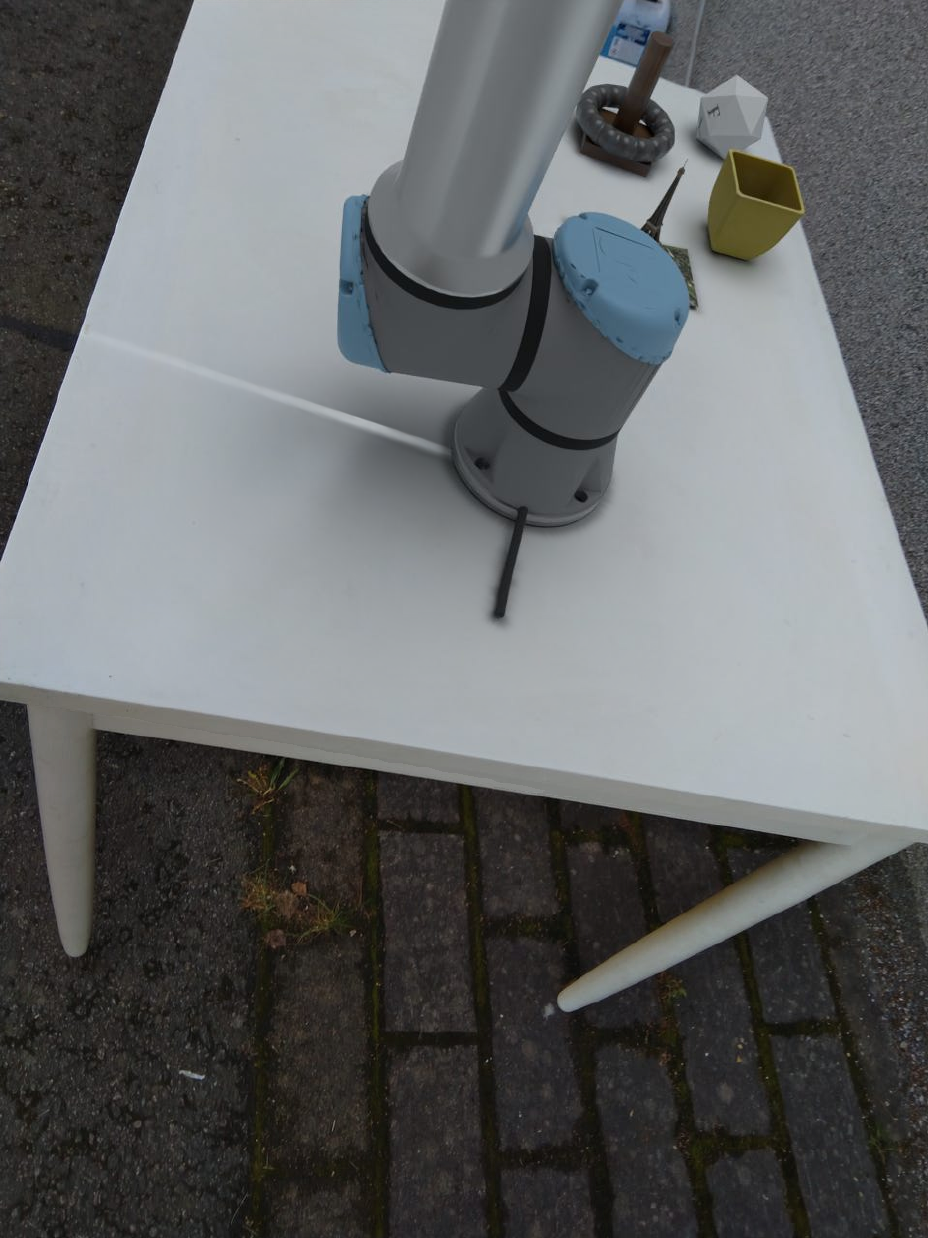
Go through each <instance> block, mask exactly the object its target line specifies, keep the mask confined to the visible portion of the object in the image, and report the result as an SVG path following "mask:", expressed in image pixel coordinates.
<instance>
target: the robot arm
mask: <svg viewBox="0 0 928 1238" xmlns="http://www.w3.org/2000/svg"><path fill="white" fill-rule="evenodd" d="M624 2H625V0H445V2H444V5H443V10H442V13H441V17H440V21H439V24H438V28H437V31H436V35H435V39H434V43H433V47H432V51H431V55H430V59H429V62H428V67H427V70H426V73H425V77H424V81H423V85H422V88H421V93H420V96H419V100H418V103H417V106H416V107H417V108H416V111H415V115H414V119H413V122H412V126H411V130H410V134H409V138H408V142H407V144H406V149H405V153H404V156H403V159H401V160H399V161H396V162H395V163H393V164H391V165H390V166H389V167H387V168H386V169H385V170H383V172H381V174H380V175H379V176H378V177H377V179H376V181H375V183H374V184H373V186H372V189H371V191H370V195H368V194H364V193H362V194H361V195H351V196H349V197H347V198H346V199H345V200H344V203H343V208H342V217H341V218H342V219H341V220H342V221H341V231H340V249H339V250H340V252H339V280H338V295H337V296H338V297H337V319H336V320H337V323H336V324H337V327H336V330H337V331H336V337H337V339H336V340H337V346H338V349H339V351H340V353H341V355H342V356H343V357H344V359H346V360H347V361H348V362H350V363H352V364H355V365H359V366H364V367H367V368H372V369H375V370H376V369H377V370H379V371H381V372H383V373H384V374H399V375H407V376H410V377H411V376H412V377H417V378H418V377H419V378H425V379H430V380H436V381H443V382H449V383H455V384H462V385H468V386H472V387H473V386H474V387H481V389H480V390H478V392H477V393H475V394H474V395H473V396H472V397H471V398H470V399H469V400H468V401H467V403H466V404H465V405H464V406H463V408H462V410H461V411H460V413H459V414H458V415H459V416H458V418H457V420H456V423H455V427H454V431H453V432H454V433H453V442H454V443H453V444H454V447H451V448H450V449H451V456H452V460H453V463H454V466H455V469H456V471H457V473H458V475H459V477H460V479H461V480H462V481H463V483H464V485H465V486H466V487H467V488H468V489H469V491H470V492H471V493H472V494H473V495H474V496H475V497H476V498H477V499H478V500H480V502H482V503H483V504H484V505H486V506H487V507H488V508H490V509H491V510H493V511H495V512H496V513H497V514H500V515H502V516H504V517H505V518H508V519H510V520H513V521H514V522H515V523H514V527H513V530H512V535H511V540H510V543H509V546H508V550H507V555H506V559H505V562H504V566H503V570H502V575H501V580H500V583H499V589H498V595H497V600H496V605H495V610H494V616H496V617H497V618H504V617H505V616H506V610H507V606H508V605H507V604H508V600H509V594H510V588H511V584H512V579H513V574H514V571H515V566H516V563H517V558H518V554H519V550H520V547H521V542H522V538H523V534H524V530H525V525H526V524H527V525H530V526H537V527H558V526H565V525H568V524H572V523H574V522H577V521H579V520H581V519H583V518H584V517H586V516H587V515H588V514H590V513H591V512H592V511H593V510H594V509H595V507H597V505H598V504H599V502H600V501H601V499H602V498H603V497H604V495H605V493H606V492H607V489H608V488H609V485H610V482H611V478H612V475H613V469H614V462H615V458H616V457H615V455H616V450H617V444H618V437H619V433H620V432H621V430H622V428H623V427H624V425H625V424H626V422H627V421H628V419H629V417H630V416H631V414H632V413H633V411H634V410H635V408H636V407H637V405H638V403H639V402H640V400H641V399H642V397H643V395H644V394H645V392H646V390H647V389H648V388H649V386H650V384H651V383H652V381H653V379H654V378H655V376H656V375H657V373H658V372H659V370H660V369H661V367H662V365H663V364H664V363H665V362H666V361H667V360H668V359H670V357H671V356H672V354H673V351H674V349H675V345H676V344H677V342H678V340H679V338H680V335H681V333H682V331H683V329H684V327H685V325H686V323H687V320H688V319H689V313H690V308H691V305H690V299H689V292H688V288H687V285H686V282H685V279H684V277H683V275H682V273H681V271H680V269H679V268H678V266H677V265H676V263H675V262H674V260H673V259H672V258H671V257H670V255H669V254H668V253H667V252H666V251H665V250H663V249H662V247H661V246H660V245H659V244H658V243H657V242H656V241H655V240H654V239H653V238H651V237H650V236H649V235H648V234H646V233H645V232H643V231H642V230H640V229H641V228H639V227H637V226H636V225H634V224H632V223H630V222H629V221H626V220H624V219H622V218H619V217H617V216H614V215H610V214H607V213H603V212H596V211H587V212H585V211H584V212H580V213H579V214H578V215H572V216H570V217H568V218H567V219H566V220H565V221H564V222H562V224H561V225H560V226H559V227H557V229H556V230H555V231H554V235H553V237H549V236H542V235H538V234H535V233H534V229H533V228H534V227H533V225H532V221H531V218H530V216H529V212H530V209H531V207H532V205H533V203H534V201H535V198H536V196H537V195H538V193H539V189H540V187H541V185H542V183H543V182H544V178H545V176H546V173H547V172H548V169H549V167H550V165H551V163H552V161H553V158H554V156H555V154H556V152H557V150H558V147H559V145H560V144H561V141H562V140H563V137H564V134H565V132H566V131H567V127H568V125H569V123H570V121H571V119H572V116H573V115H574V113H575V111H576V108H577V103H578V101H579V99H580V97H581V95H582V93H583V92H584V90H585V89H586V86H587V83H588V81H589V79H590V77H591V75H592V72H593V70H594V68H595V66H596V64H597V61H598V59H599V57H600V54H601V52H602V50H603V49H604V46H605V44H606V42H607V39H608V37H609V35H610V32H611V31H612V28H613V26H614V24H615V22H616V19H617V17H618V15H619V14H620V10H621V8H622V6H623V4H624Z"/></svg>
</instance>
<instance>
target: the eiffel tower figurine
mask: <svg viewBox="0 0 928 1238" xmlns="http://www.w3.org/2000/svg"><path fill="white" fill-rule="evenodd" d="M688 160H689V158H687V160H686V161H685V163H684V165H683V166H682V167H680V168H679V169H678V170H677V172H676V173H677V174H676V176H675V177H674V179H673V181H672V182H671V184H670V186H669V187H668V189H667V191H666V192H665V194H664V196H663V197H662V199H661V201H660V202H659V204H658V206H657V207H656V209H655V210H654V212H653V213H652V214H651V215H650V217H649V218H647V219H646V220H645V221H646V222H645V223H644V224H643V226H641V227H640V228H639V229H640V230H642V231H643V232H645V233H646V234H648V235H649V236H650V237H651V238H653V239H654V240H655V241H656V242H657V243H658V244H659V245H660V246H661V247H662V249H663V250H665V251H666V252H667V253H668V254H669V255H670V257H671V258H672V259H673V260H674V262H675V263H676V265H677V266H678V268H679V269H680V271H681V273H682V275H683V277H684V279H685V282H686V285H687V288H688V292H689V299H690V307H691V306H692V307H696V308H699V302H698V297H697V292H696V287H695V282H694V281H695V280H694V277H693V276H694V275H693V272H692V266H691V261H690V255H689V251H688V248H683V247H677V246H671V245H667V244H663V243H662V241H660V238H661V230H662V227H663V226H664V223H663V222H664V218H665V216H666V213H667V210H668V208H669V205H670V204H671V201H672V198H673V197H674V194H675V192H676V190H677V187H678V185H679V183H680V181H681V178H682V177H683V175H685V172H686V169H685V166H686V164H687V163H688Z"/></svg>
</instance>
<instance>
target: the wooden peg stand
mask: <svg viewBox="0 0 928 1238" xmlns="http://www.w3.org/2000/svg"><path fill="white" fill-rule="evenodd" d="M675 44H676V42H675V40H674V38H673V37H672V36H671V35H669V34H668V33H667V32H664V31H661V30H654V31H652V32H651V33H650V35H649V38H648V40H647V42H646V45H645V47H644V49H643V52H642V54H641V56H640V58H639V61H638V63H637V65H636V68H635V70H634V73H633V75H632V77H631V80H630V82H629V84H628V87H627V88H628V89H627V91H626V93H625V96H624V98H623V100H622V103H621V105H620V107H619V109H617V110H618V111H617V112H614V111H611V110H609V109H606V108H605V107H604V108H598V109H597V110H598V112H599V114H600V116H601V117H602V118H603V119H604V120H605V121H606V122H607V123H608V124H610V125H611V126H613V127H614V128H616V129H617V130H619V131H621V132H623V133H626V134H628V135H631V136H634V137H639V138H652V137H654V135H653V133H652V131H651V129H650V128H649V127H648V126H647V125H646V124H645V123H642V122H641V120H640V119H641V117H642V115H643V113H644V111H645V109H646V106H647V104H648V102H649V100H650V99H652V95H653V94H654V91H655V89H656V87H657V84H658V82H659V80H660V78H661V75H662V74H663V71H664V69H665V66H666V65H667V63H668V60H669V58H670V56H671V54H672V52H673V49H674V47H675ZM582 132H583V131H582ZM579 149H580V150H579V152H580V153H581V154H584V155H586V156H588V157H591V158H594V159H597V160H600V161H602V162H605V163H607V164H610V165H612V166H615V167H618V168H620V169H623V170H625V171H629V172H631V173H634V174H636V175H639V176H641V177H644V178H647V176H648V174H649V172H650V170H651V168H652V161H649V162H639V161H631V160H627V159H624V158H621V157H618V156H616V155H613V154H611V153H609V152H607V151H606V150H604V149H603V148H601V147H600V146H598V145H596V144H595V143H594V142H593V141H592V140H591V139H590V138H589V137H588V136H587V135H586V134H585V133H584V132H583V133H582V139H581V143H580V148H579Z"/></svg>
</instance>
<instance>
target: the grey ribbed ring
mask: <svg viewBox="0 0 928 1238" xmlns="http://www.w3.org/2000/svg"><path fill="white" fill-rule="evenodd" d="M627 89H628V87H627V86H624V85H620V84H613V83H602V84H595V85H591V86H589V87H588V88H587V89H586V90H585V91H583V92H582V95H581V97H580V99H579V101H578V103H577V106H576V108H575V116H576V119H577V122H578V124H579V126H580V128H581V130H582V132H584V133H585V134H586V135H587V136H588V137H589V138H590V139H591V140H592V141H593V142H594V143H595V144H596V145H598V146H600V147H601V148H603V149H604V150H606V151H607V152H609V153H611V154H613V155H616V156H618V157H621V158H624V159H627V160H631V161H639V162H649V161H651V162H653V161H658V160H661V159H663V158H664V157H665V156H667V155H668V153H669V152H670V151H671V150H672V149H673V148H674V146H675V142H676V128H675V125H674V123H673V121H672V119H671V118H670V115H669V114H668V113H667V112H666V110H664V109H663V108H662V107H661V106H660V105H659V104H658V103H657V102H656V101H655V100H653V99H652V98H650V100H649V102H648V104H647V106H646V109H645V111H644V113H643V115H642V117H641V119H640V122H643V124H645V125H647V126H648V127H649V128H650V129H651V131H652V133H653V135H654V137H652V138H639V137H634V136H631V135H628V134H626V133H623V132H621V131H619V130H617V129H616V128H614V127H613V126H611V125H610V124H608V123H607V122H606V121H605V120H604V119H603V118H602V117H601V116H600V114H599V112H598V110H597V109H598V108H604V109H605V108H607V109H608V108H610V109H615V110H619V107H620V105H621V103H622V100H623V98H624V96H625V93H626V91H627Z"/></svg>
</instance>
